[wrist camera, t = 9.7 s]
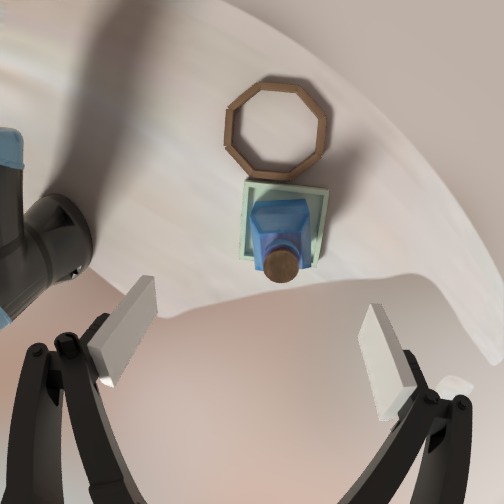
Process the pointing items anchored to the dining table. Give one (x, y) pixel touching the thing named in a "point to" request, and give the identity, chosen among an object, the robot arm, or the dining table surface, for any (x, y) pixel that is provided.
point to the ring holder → (264, 173)
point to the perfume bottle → (281, 238)
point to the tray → (282, 191)
